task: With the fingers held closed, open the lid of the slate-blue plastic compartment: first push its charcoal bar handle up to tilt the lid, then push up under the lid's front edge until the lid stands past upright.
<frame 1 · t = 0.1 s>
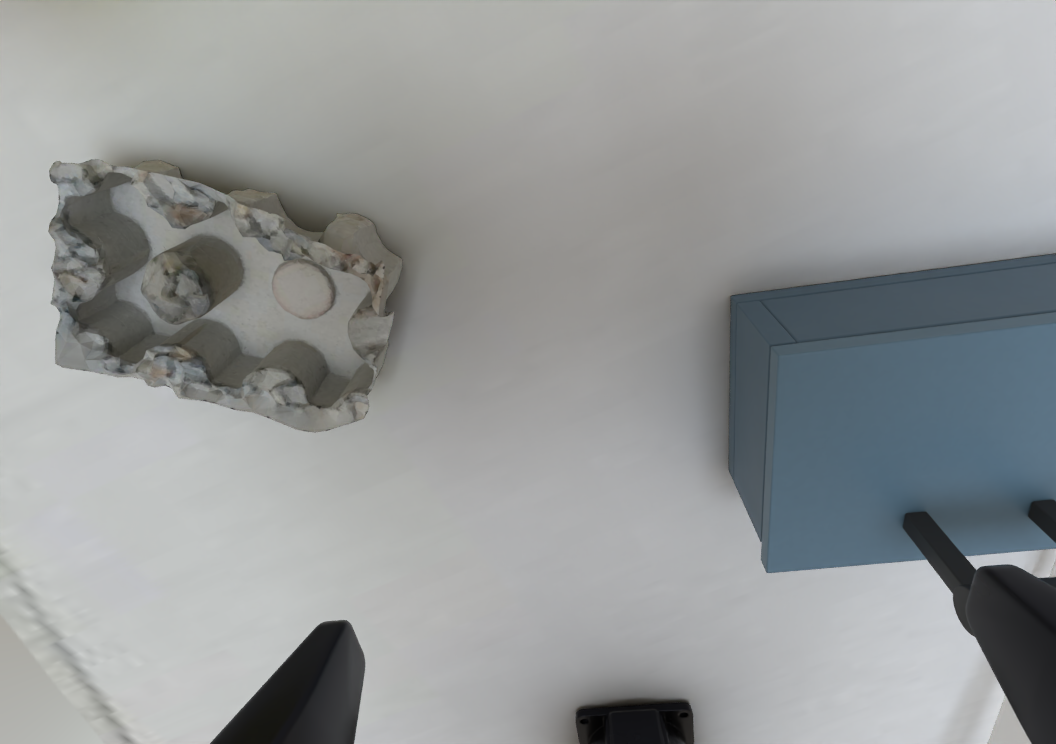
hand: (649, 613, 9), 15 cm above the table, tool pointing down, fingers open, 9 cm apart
egg carton: (261, 279, 22), on the table
lid: (1035, 492, 17), point 7 cm above the table, hinge at 0.0°
light grey piece: (992, 728, 34), on the table
compartment: (907, 369, 23), on the table
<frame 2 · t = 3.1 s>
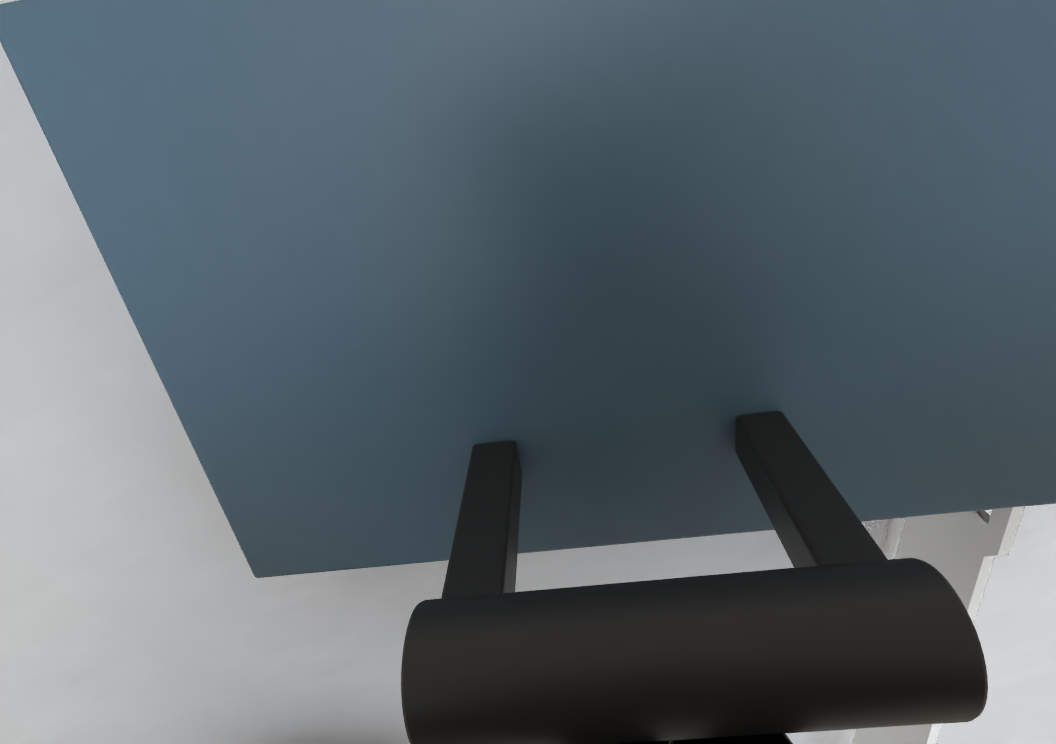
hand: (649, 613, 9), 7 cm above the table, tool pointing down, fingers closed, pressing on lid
lid: (628, 351, 6), point 7 cm above the table, hinge at 1.9°, touching gripper
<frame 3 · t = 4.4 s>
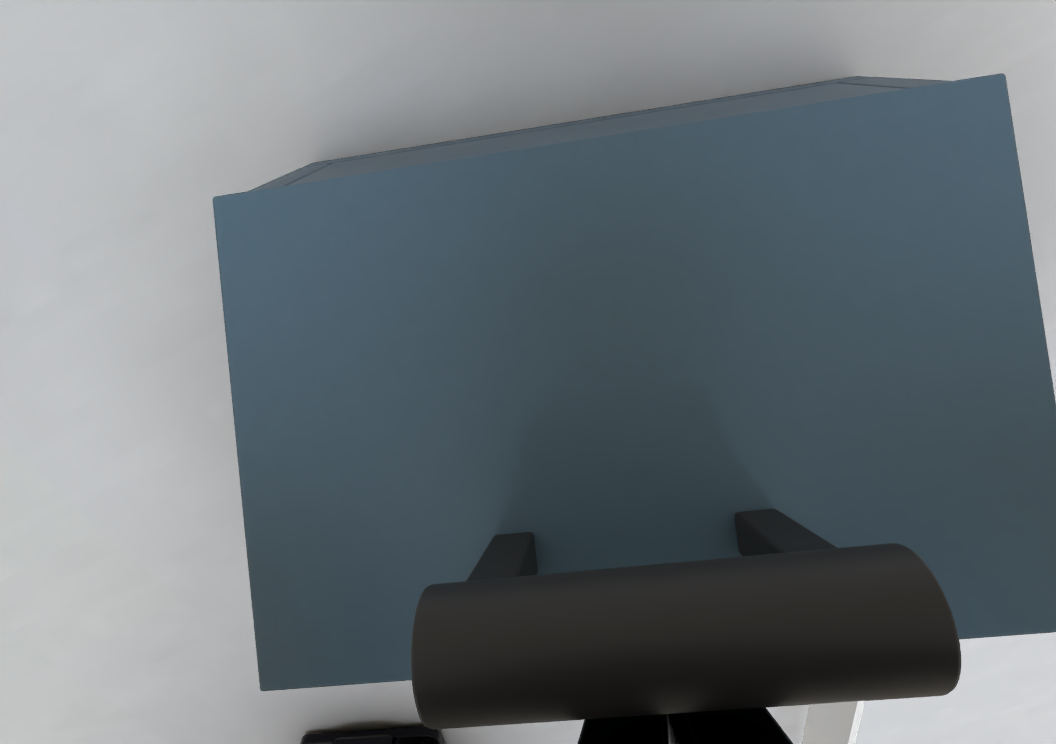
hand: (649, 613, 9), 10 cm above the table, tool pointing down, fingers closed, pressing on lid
lid: (623, 397, 8), point 9 cm above the table, hinge at 29.9°, touching gripper
compartment: (589, 276, 16), on the table
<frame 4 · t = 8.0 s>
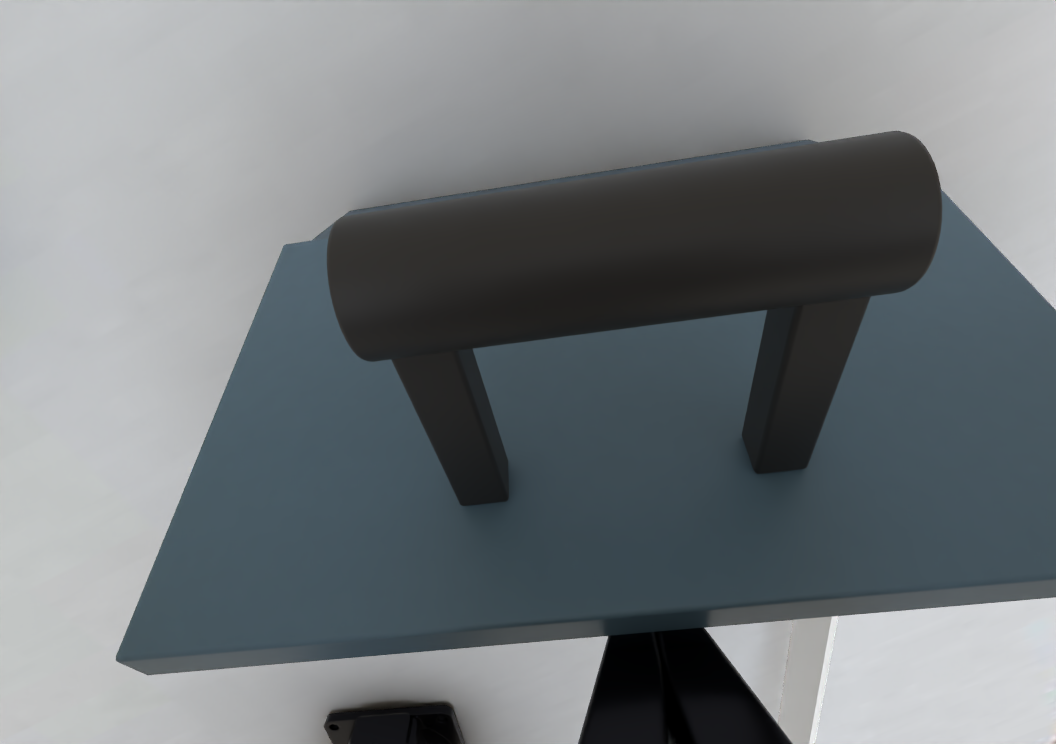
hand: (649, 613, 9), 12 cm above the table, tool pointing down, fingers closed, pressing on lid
lid: (597, 254, 8), point 10 cm above the table, hinge at 69.7°, touching gripper
light grey piece: (796, 731, 30), on the table
compartment: (586, 304, 19), on the table
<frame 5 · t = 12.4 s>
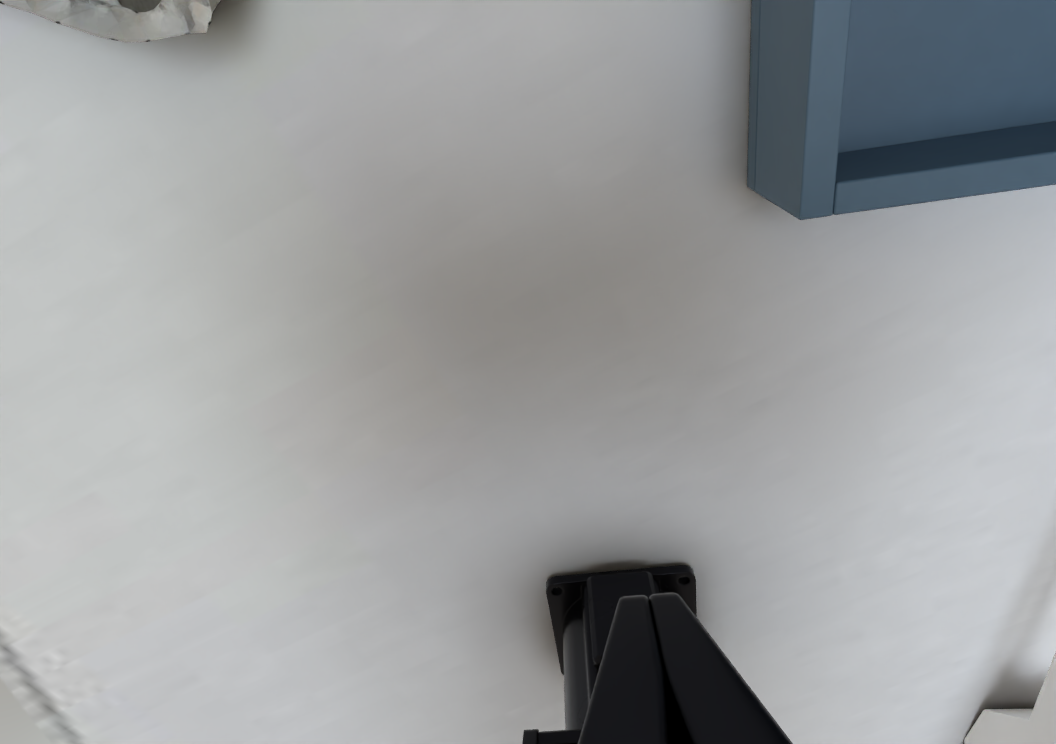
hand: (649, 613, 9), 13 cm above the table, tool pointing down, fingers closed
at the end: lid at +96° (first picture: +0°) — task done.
